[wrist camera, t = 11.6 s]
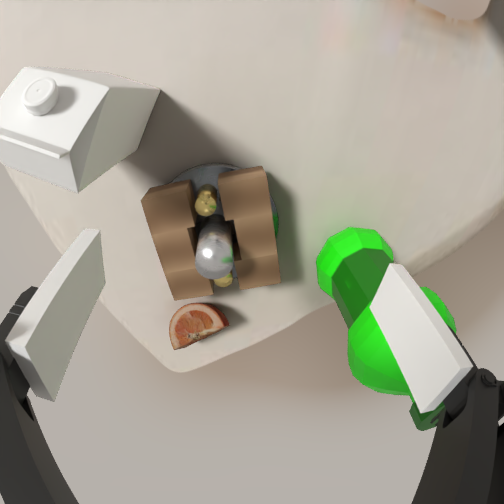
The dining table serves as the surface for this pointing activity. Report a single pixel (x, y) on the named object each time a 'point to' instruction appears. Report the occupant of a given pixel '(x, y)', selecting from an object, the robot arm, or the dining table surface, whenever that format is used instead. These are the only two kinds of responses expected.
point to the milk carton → (71, 123)
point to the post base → (213, 178)
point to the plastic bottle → (361, 317)
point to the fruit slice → (195, 324)
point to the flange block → (234, 207)
